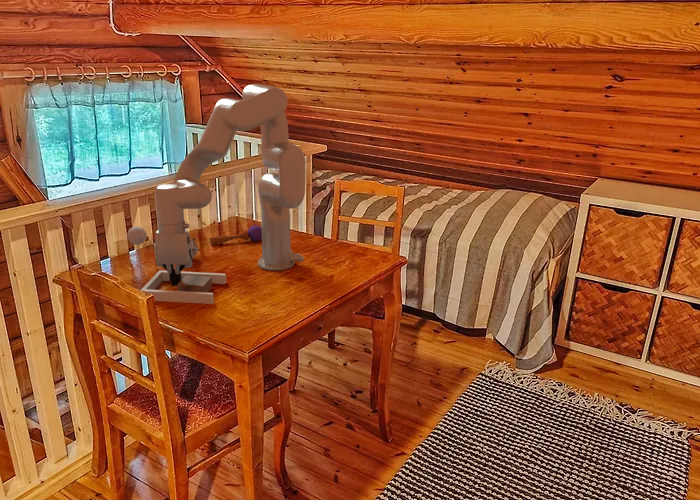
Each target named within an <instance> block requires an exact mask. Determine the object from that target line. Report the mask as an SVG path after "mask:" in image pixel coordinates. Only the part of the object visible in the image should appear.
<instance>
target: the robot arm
mask: <svg viewBox="0 0 700 500" xmlns="http://www.w3.org/2000/svg"><path fill="white" fill-rule="evenodd" d="M241 94H242V95H241V97H242V99H241V100H240V99H236V98H231V97H230V98H228V97H226V98H225V97H224V98H221V99H219V100H218V101H217V102H216V104H215V106H214V108H213V110H212V112H211V115H210V117H209V119H208V122H207V124H206V126H205V128H204V131H203V133H202V135H201V137H200V140H199V142H198V143H197V145H196V146H195V147H194V148H192V149H191V151H190V152H189V153H188V154H187V156H185V158H184V159H183V160H182V162H181V163H180V165H179V167H178V169H177V171H176V175H175V177H174V179H173V182H172V183H163V184H159V185H158V186H156V187H155V189H154V198H155V199H154V200H155V209H156V222H157V230H156V231H155V238H154V239H155V240H154V259H155V261H156V262H155V264H156V266H158V267H161V268H163V269H165V271H167V272H168V273H169V277H170V281H169V282H170V284H171V287H174V286H175V287H177V284H178V283H179V282H180V281H181V272H183V270H184V269H189V268H192V266H193V261H192V260H191V259H192V258H193V252H192V245H191V240H190V239H191V236H190V232H189V230H188V229H190V224H189V223H187V222H186V220H185V213H184V212H185V210H189V209H190V210H193V209H194V210H197V209H203V208H206V207H207V206H208V205H209V204H210V203H211V201H212V198H213V195H212V190H211V189H210V188H209V187H208V185H206V184H205V183H201V182H199V180H200V178H201V176H202V174H203V172H204V171H205V170H206V169H207V168H208V167H209V166H210V165H211V164H213V163H215V162H218V161H219V160H222V159H223V158H226V156H227V154H229V153H228V152H229V150H230V148H231V145H232V143H233V141H234V139H235V136H236V134H237V132H246V131H250V130H252V129H255V128H257V127H260V132H261V133H260V135H261V137H260V138H261V139H260V142H261V147H260V148H261V160H262V161H261V162H262V164H263V166H265V167H266V168H268V169H270V170H271V171H275V172H267V173H265V174H263V175H262V176H261V177H260V179H259V181H258V185H257V194H258V199H259V203H260V213H261V214H260V215H261V221H260V223H261V228H262V239H261V251H262V252H261V253H262V256H261V257H259V259H258V260H257V265H258V266H259V268H261V269H264V270H267V271H283V270H288V269H291V268H293V267H294V266H295V264H296V262H303V261H304V256H303V255H301V253H294V252H293V249H291V212H290V210H291V209H296V208H298V207H300V206H301V204H302V203H303V201H304V199H305V195H306V178H307V176H306V171H307V170H306V167H307V166H306V165H307V164H306V163H307V162H306V156H305V153H304V151H303V150H302V149H301V147H299V146H298V145H296V144H294V143H290V141H289V125H288V124H289V123H288V119H287V115H286V112H285V111H286V109H287V107H288V96H287V94H286V93H285V91H284V90H282V89H281V88H279V87H276V86H272V85H267V84H261V83H251V84H248V85H246V86H245V87H244V89H242V93H241ZM193 259H194V258H193ZM303 263H304V262H303Z"/></svg>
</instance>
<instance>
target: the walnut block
mask: <svg viewBox="0 0 700 500" xmlns="http://www.w3.org/2000/svg"><path fill="white" fill-rule="evenodd" d="M176 287H177V291H187V292H207V293H210V291H211V290H212V289H213V283H212V277H206V276H193V275H186V276H185V277H184V278H183V279H182V280H181V281H180V282H179V283H178V284H177V286H176Z"/></svg>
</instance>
